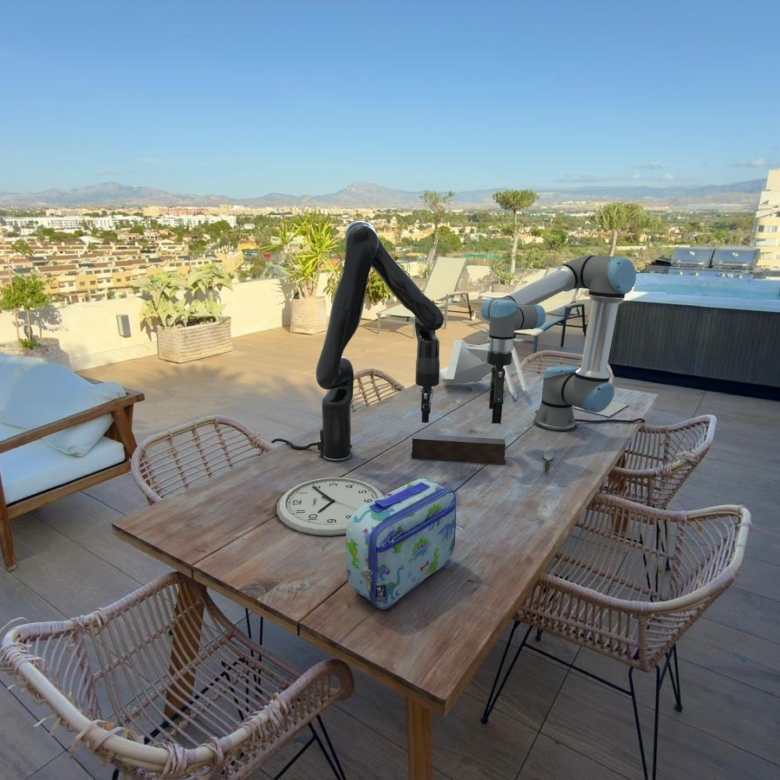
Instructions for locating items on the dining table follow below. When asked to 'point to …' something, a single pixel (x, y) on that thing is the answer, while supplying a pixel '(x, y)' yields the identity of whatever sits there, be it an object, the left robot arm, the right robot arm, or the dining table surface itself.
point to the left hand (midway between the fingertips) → (426, 417)
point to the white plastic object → (476, 366)
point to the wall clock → (324, 504)
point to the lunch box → (400, 540)
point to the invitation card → (609, 408)
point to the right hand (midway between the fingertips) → (494, 415)
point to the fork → (547, 459)
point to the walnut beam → (458, 448)
